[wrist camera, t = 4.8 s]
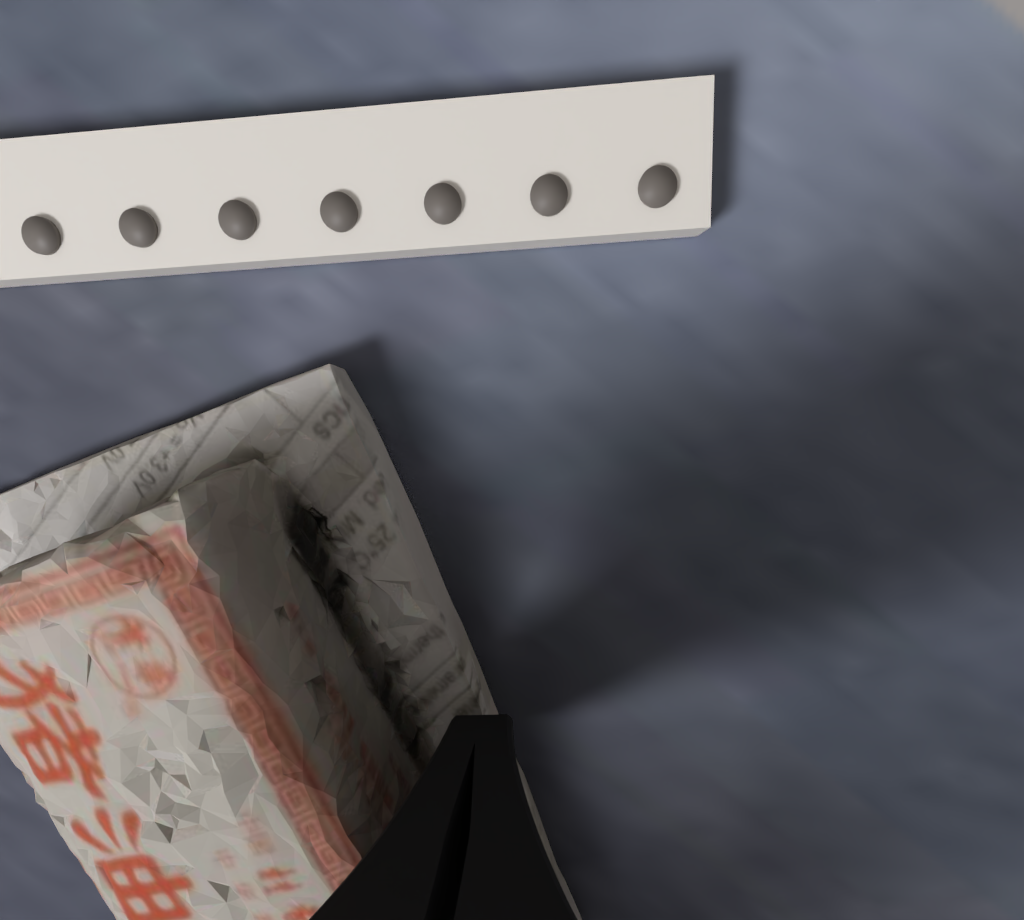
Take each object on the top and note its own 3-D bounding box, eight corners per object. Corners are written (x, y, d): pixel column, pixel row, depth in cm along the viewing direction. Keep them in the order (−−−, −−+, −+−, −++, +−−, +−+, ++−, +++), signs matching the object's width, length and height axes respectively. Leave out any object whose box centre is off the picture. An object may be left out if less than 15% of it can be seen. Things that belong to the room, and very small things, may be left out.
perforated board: (-42, 290, 11) (-92, 286, 10) (-79, 165, 10) (-135, 149, 10) (696, 235, 10) (712, 226, 9) (699, 97, 10) (716, 71, 9)
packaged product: (628, 1180, 10) (216, 1250, 12) (598, 920, 15) (307, 988, 16) (238, 361, 7) (-306, 578, 8) (358, 354, 12) (6, 491, 13)
